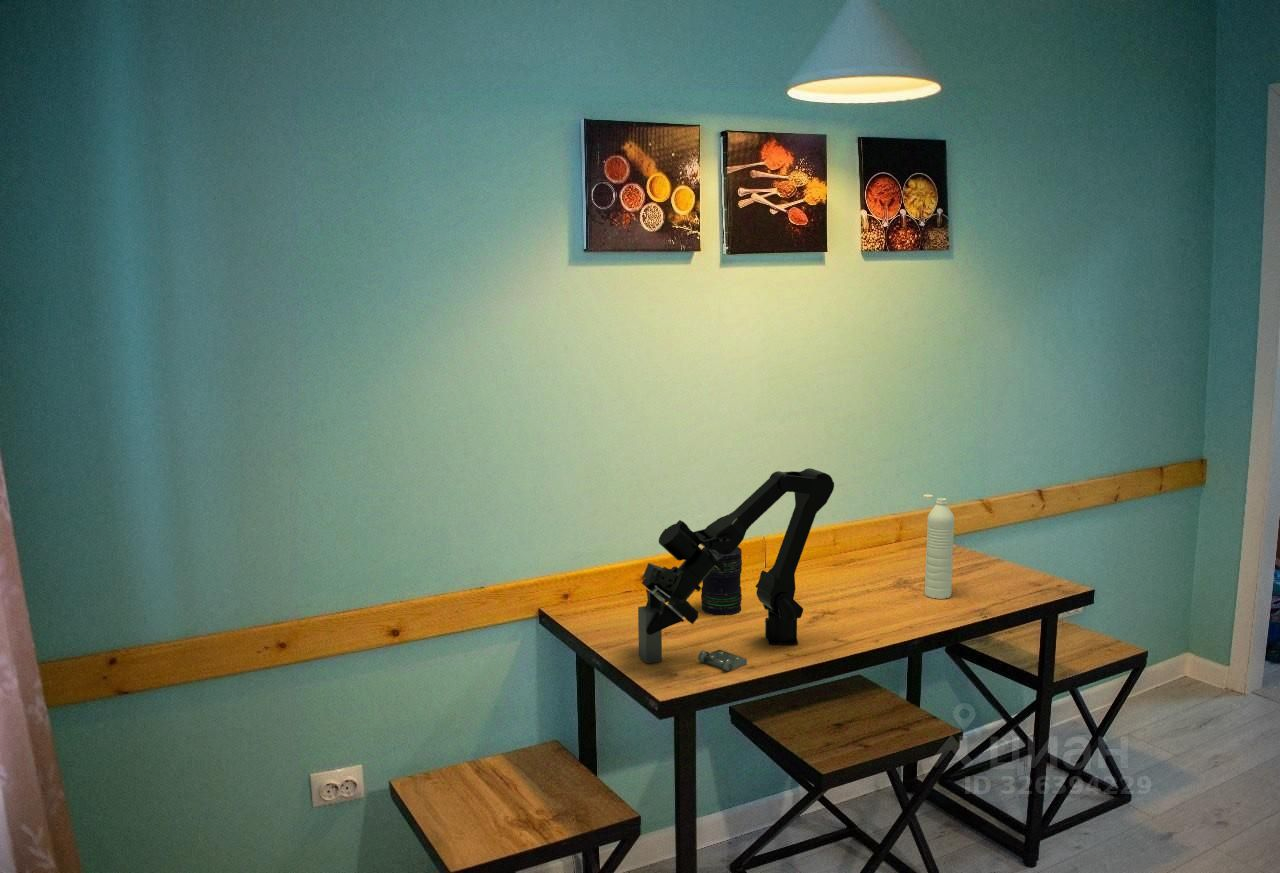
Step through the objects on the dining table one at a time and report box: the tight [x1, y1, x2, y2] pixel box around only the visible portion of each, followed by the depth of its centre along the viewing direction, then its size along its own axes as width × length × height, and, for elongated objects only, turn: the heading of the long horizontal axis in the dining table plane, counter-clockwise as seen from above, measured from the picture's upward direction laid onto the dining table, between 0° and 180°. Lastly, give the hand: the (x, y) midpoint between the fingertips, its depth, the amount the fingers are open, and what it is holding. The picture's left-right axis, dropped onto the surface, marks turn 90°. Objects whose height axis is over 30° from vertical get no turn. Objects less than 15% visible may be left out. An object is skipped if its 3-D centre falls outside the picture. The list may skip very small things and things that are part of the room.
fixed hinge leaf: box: [697, 649, 748, 672], centre depth 226 cm, size 7×8×2 cm
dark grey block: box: [637, 605, 663, 664], centre depth 228 cm, size 4×4×11 cm
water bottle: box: [922, 494, 955, 600], centre depth 270 cm, size 9×6×25 cm
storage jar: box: [700, 546, 743, 617], centre depth 260 cm, size 10×10×15 cm
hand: (643, 629), depth 227 cm, fingers closed on dark grey block, 4 cm apart
